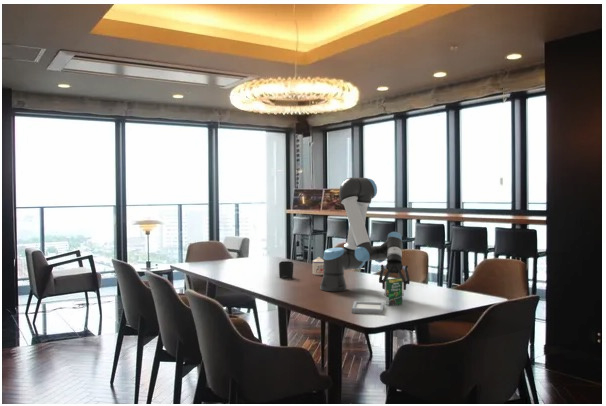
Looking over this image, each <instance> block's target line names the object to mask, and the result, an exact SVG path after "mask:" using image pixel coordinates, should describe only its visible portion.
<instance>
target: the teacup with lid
mask: <svg viewBox="0 0 606 406" xmlns="http://www.w3.org/2000/svg"><path fill="white" fill-rule="evenodd" d="M312 275H314V276H323V275H324V259H323V258H321V257H320V256H317V258H315V259H313V260H312Z"/></svg>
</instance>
